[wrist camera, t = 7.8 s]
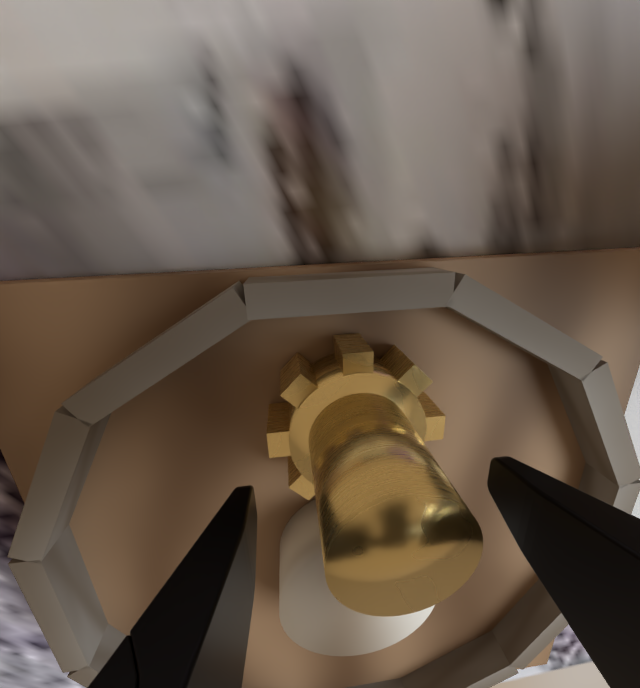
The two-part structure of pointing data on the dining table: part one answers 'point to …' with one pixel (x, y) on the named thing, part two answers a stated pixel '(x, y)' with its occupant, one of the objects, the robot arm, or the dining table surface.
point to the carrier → (272, 473)
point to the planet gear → (374, 478)
